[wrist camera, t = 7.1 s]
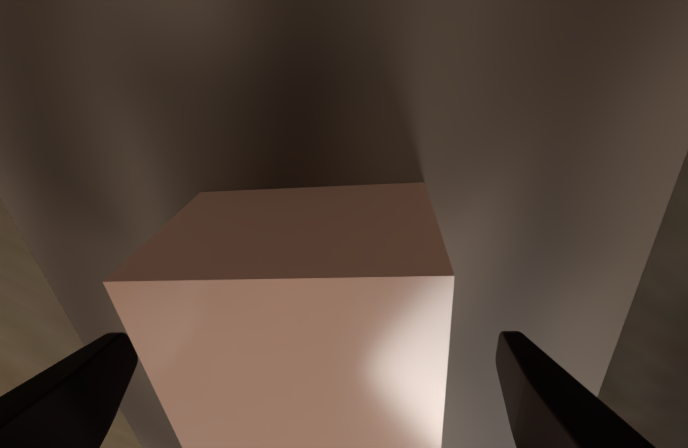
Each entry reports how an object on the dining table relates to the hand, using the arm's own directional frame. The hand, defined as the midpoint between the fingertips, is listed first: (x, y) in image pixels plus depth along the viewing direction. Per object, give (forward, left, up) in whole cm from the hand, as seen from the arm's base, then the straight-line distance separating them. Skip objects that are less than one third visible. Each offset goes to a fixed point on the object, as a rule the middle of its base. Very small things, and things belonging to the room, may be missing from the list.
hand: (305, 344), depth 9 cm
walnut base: (0, 0, -5) cm, 5 cm away
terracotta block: (0, 0, -3) cm, 3 cm away
